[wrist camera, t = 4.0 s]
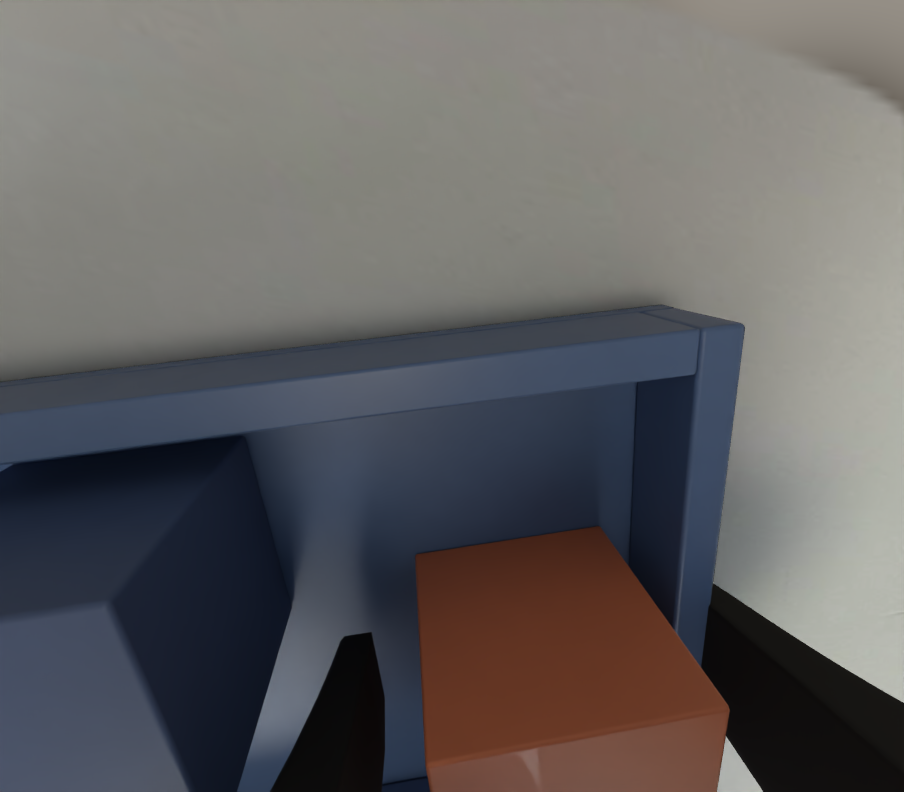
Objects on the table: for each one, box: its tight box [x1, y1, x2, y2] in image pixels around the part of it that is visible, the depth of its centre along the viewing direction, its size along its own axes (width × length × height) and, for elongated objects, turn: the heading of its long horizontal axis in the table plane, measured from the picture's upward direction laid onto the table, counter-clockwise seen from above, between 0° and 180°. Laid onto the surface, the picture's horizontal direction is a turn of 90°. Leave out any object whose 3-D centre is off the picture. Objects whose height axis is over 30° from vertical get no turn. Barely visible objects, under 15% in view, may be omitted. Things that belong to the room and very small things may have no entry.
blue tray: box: [0, 305, 745, 792], centre depth 10 cm, size 16×14×2 cm
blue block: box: [0, 436, 292, 792], centre depth 7 cm, size 4×4×4 cm
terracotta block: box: [415, 526, 730, 792], centre depth 9 cm, size 4×4×4 cm
